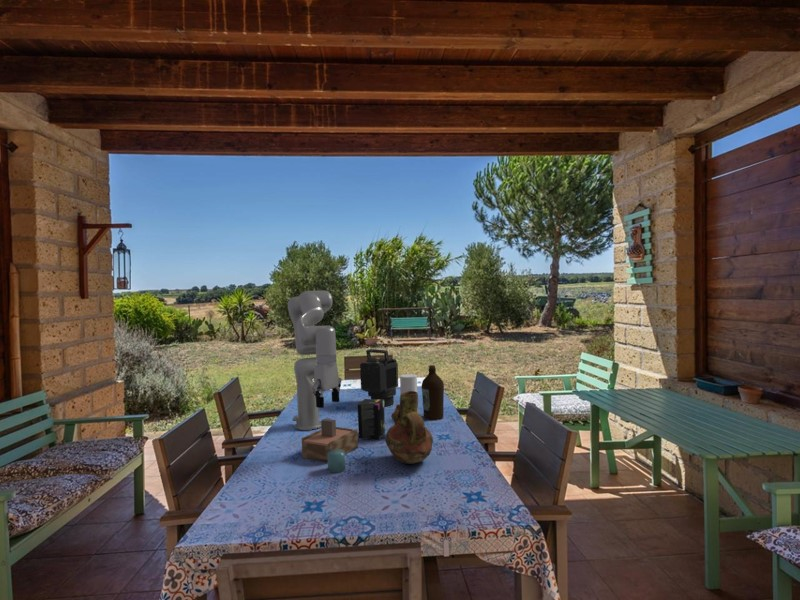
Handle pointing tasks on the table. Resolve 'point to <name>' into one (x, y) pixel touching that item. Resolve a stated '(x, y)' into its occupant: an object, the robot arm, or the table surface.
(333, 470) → the teal rounded piece
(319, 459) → the box
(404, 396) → the ceramic vessel
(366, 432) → the tampon box
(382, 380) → the lantern
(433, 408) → the dark brown bottle
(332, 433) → the brown piece
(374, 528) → the table surface
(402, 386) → the cylindrical container
